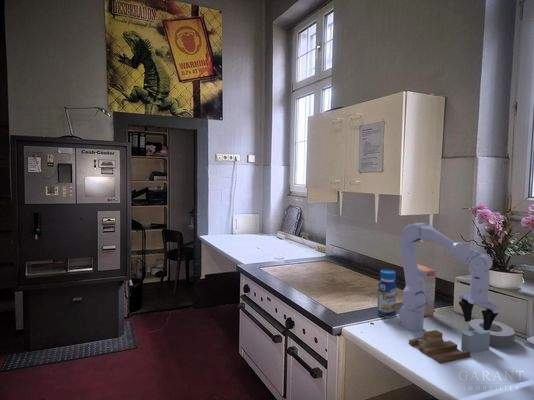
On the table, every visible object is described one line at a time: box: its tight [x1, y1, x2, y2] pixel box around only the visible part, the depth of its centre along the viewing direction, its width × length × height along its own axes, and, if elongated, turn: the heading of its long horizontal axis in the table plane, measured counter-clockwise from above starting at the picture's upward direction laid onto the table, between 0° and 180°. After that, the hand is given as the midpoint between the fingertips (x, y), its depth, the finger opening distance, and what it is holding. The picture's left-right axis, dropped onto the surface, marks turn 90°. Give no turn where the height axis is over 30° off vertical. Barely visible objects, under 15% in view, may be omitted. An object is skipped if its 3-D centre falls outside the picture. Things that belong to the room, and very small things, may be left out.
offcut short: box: [422, 329, 443, 342], centre depth 132 cm, size 3×6×2 cm, turn 110°
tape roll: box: [467, 318, 516, 349], centre depth 140 cm, size 15×15×5 cm
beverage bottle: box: [376, 269, 398, 319], centre depth 162 cm, size 8×8×20 cm
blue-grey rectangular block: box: [460, 329, 490, 354], centre depth 129 cm, size 3×10×7 cm, turn 110°
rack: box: [408, 336, 472, 365], centre depth 128 cm, size 15×14×2 cm
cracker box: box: [417, 263, 437, 317], centre depth 167 cm, size 14×6×21 cm, turn 9°
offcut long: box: [418, 338, 444, 346], centre depth 132 cm, size 3×9×2 cm, turn 110°
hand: (476, 325), depth 128 cm, fingers open, 7 cm apart
